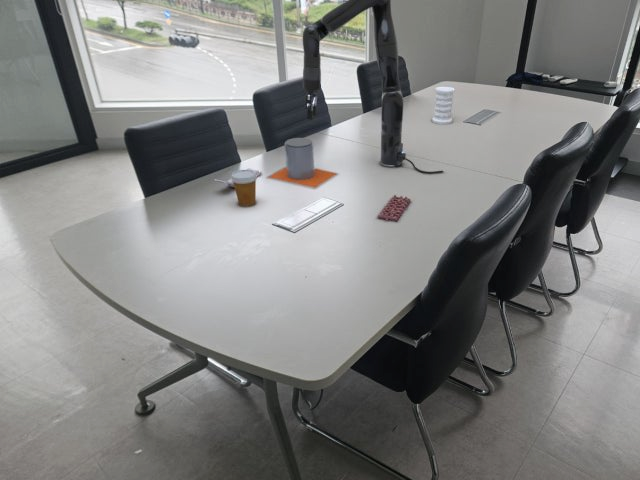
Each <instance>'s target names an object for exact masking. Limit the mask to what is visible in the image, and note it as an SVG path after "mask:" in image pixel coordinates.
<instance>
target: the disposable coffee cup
mask: <svg viewBox="0 0 640 480" xmlns="http://www.w3.org/2000/svg"><path fill="white" fill-rule="evenodd" d="M257 177H258V176H256V174H255V172H254V171H251V170H246V169H239V170H235V171H233V172H232V173H231V176H230V179H231V180H232V181H233V184H234V187H233V188H234V191H235V194H236V199H237V201H238V205H239V206H240V207H252V206H254V205H256V200H257V199H256V197H257V196H256V193H257V190H256V189H257V188H256V185H257V183H256V182H257Z"/></svg>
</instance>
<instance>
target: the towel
mask: <svg viewBox="0 0 640 480" xmlns="http://www.w3.org/2000/svg"><path fill="white" fill-rule="evenodd" d="M314 169H315V175H314V177H312V178H310V179H306V180H294V179H290V178H289V177H288V176H287V167H284V168H281V169H280V170H278V171H277V172H275V173H273V174H271V175H269V176H268V178H269V179H274V180H280V181H282V182H283V181H284V182H287V183H292V184H295V185H296V184H297V185H301V186H306V187H310V188H317V187H318V186H320V185H322V184H323V183H325V182H326V181H328V180H329V179H331V178H333V177H334V176H336V175H337V174H338V173H337V172H331V171H327V170H323V169H318V168H314Z"/></svg>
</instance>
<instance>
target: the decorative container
mask: <svg viewBox="0 0 640 480" xmlns="http://www.w3.org/2000/svg"><path fill="white" fill-rule="evenodd" d="M434 92H435V96H434V97H435V99H434V104H435V105H434V111H433V117H432V119H431V121H432V123H434V124H438V125H447V124H448V125H449V124H452V123H453V118H452V115H453V114H452V113H453V112H452V110H453V102H454V101H453V98H454V93H455V88H454V87H451V86H437V87H434Z"/></svg>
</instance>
